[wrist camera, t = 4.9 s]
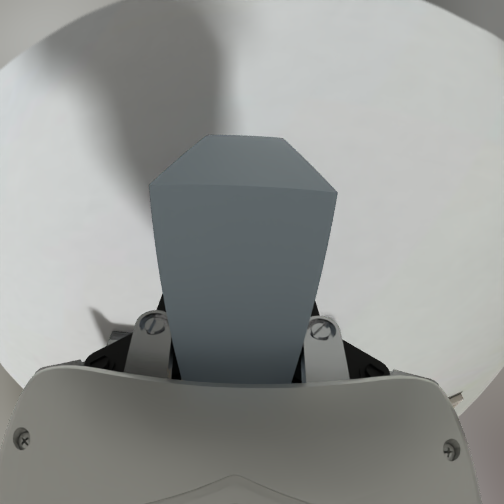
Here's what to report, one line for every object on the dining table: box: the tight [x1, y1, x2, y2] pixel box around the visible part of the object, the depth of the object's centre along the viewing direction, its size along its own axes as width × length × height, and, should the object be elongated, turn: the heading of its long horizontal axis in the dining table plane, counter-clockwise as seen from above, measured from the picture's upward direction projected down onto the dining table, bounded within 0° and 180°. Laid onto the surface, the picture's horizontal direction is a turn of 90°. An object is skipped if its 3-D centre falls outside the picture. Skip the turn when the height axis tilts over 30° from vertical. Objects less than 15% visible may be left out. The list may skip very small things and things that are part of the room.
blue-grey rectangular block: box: [149, 135, 338, 384], centre depth 10 cm, size 3×12×7 cm, turn 177°
